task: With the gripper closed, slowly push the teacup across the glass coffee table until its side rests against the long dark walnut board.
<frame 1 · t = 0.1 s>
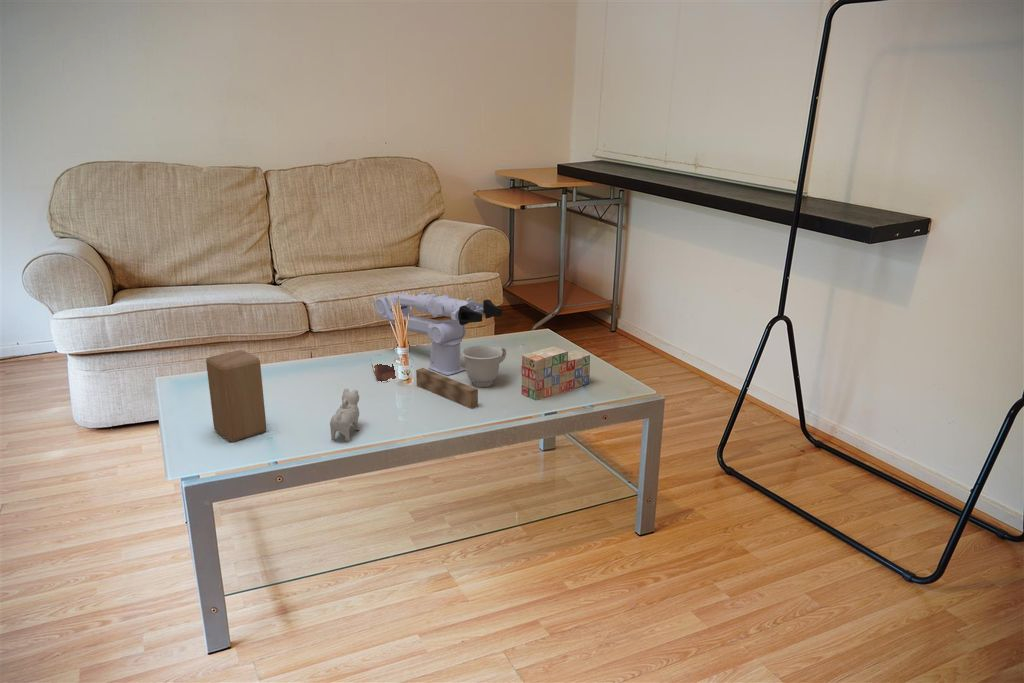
hand: (491, 315, 222), 22 cm above the table, tool horizontal, fingers open, 7 cm apart
stack of blocks: (555, 390, 227), on the table
wooden tablet: (388, 369, 244), on the table
teacup: (486, 383, 232), on the table
walnut board: (446, 395, 221), on the table
grey animal figure: (346, 433, 197), on the table
wooden block: (240, 432, 197), on the table
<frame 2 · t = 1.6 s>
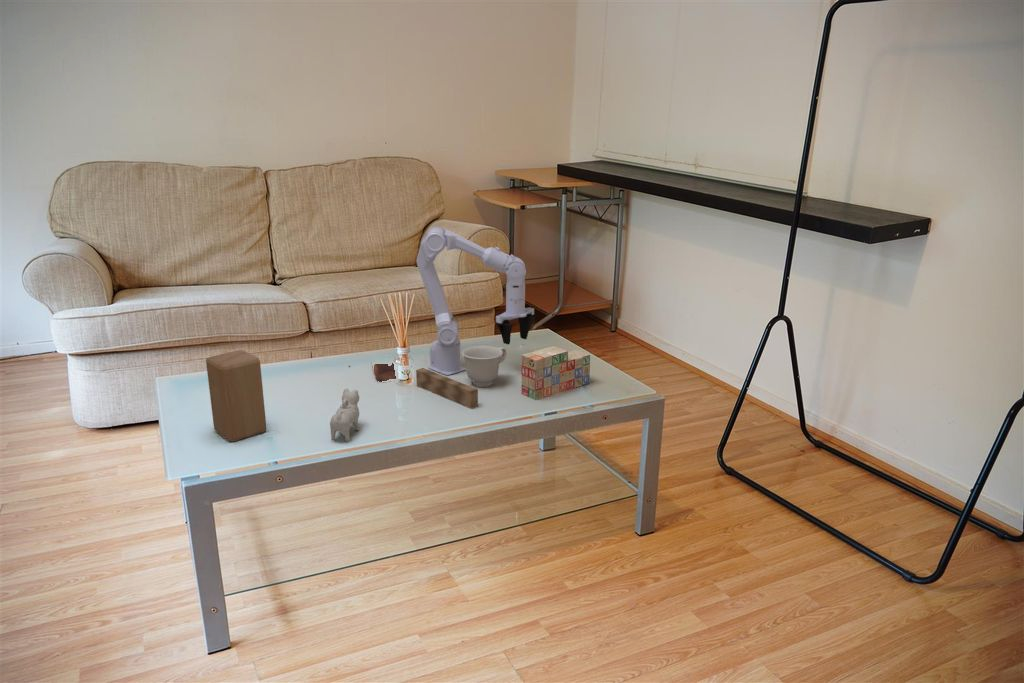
hand: (515, 341, 239), 9 cm above the table, tool pointing down, fingers open, 7 cm apart
nothing on the table moved.
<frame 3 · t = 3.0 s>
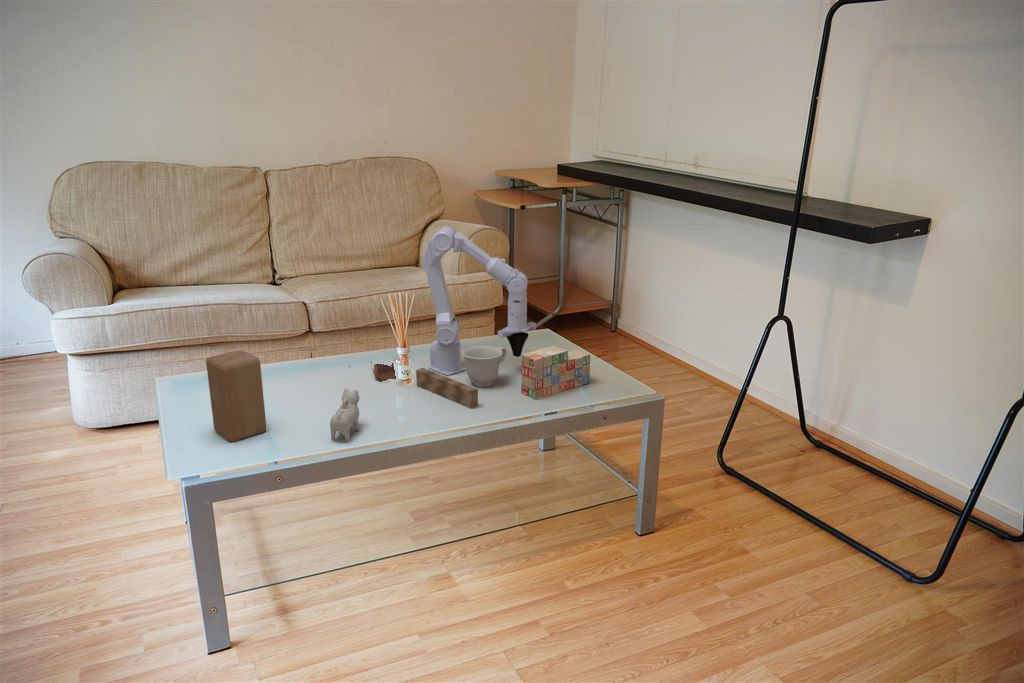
hand: (516, 355, 239), 5 cm above the table, tool pointing down, fingers closed
nothing on the table moved.
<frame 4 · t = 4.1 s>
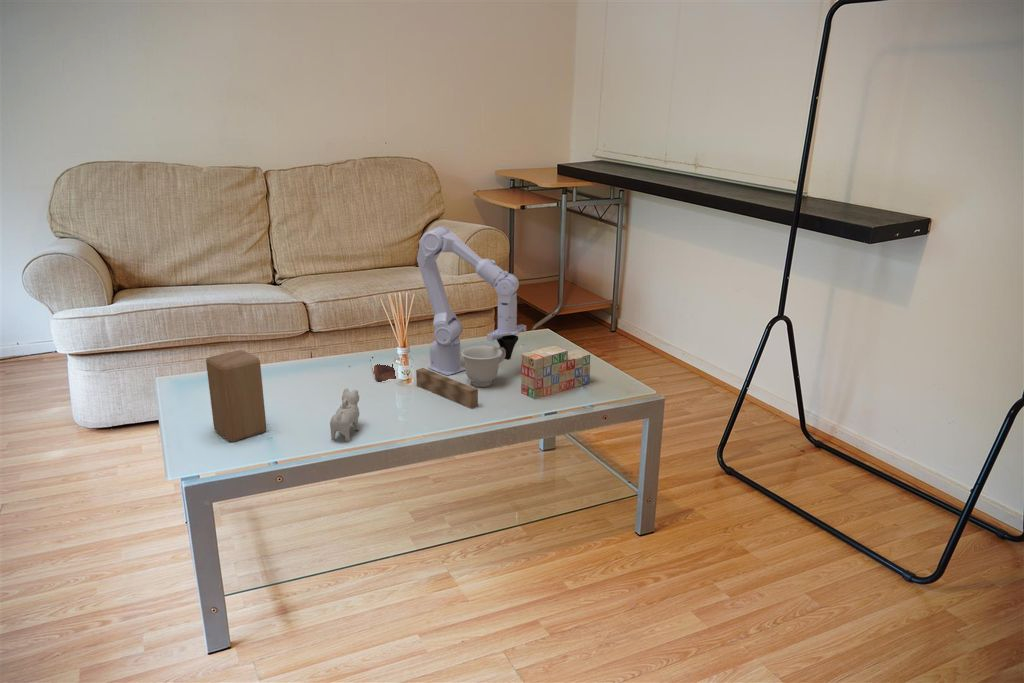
hand: (507, 358, 236), 5 cm above the table, tool pointing down, fingers closed
teacup: (485, 383, 232), on the table, touching gripper
everything else where it was.
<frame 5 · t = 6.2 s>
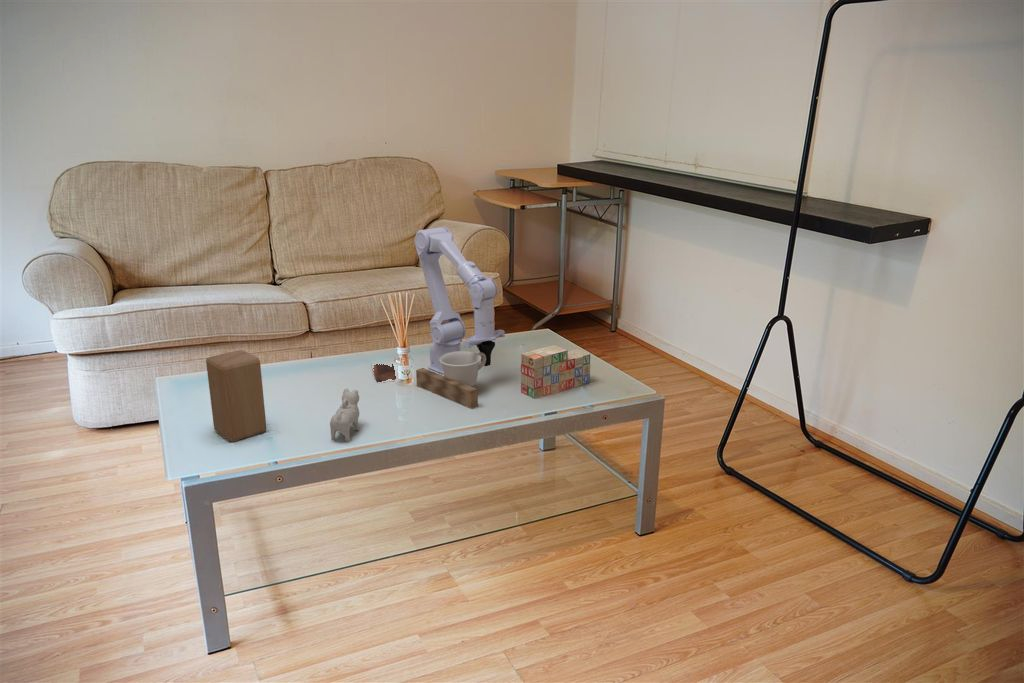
hand: (485, 365, 229), 6 cm above the table, tool pointing down, fingers closed, pressing on teacup
teacup: (465, 389, 226), on the table, touching gripper, walnut board
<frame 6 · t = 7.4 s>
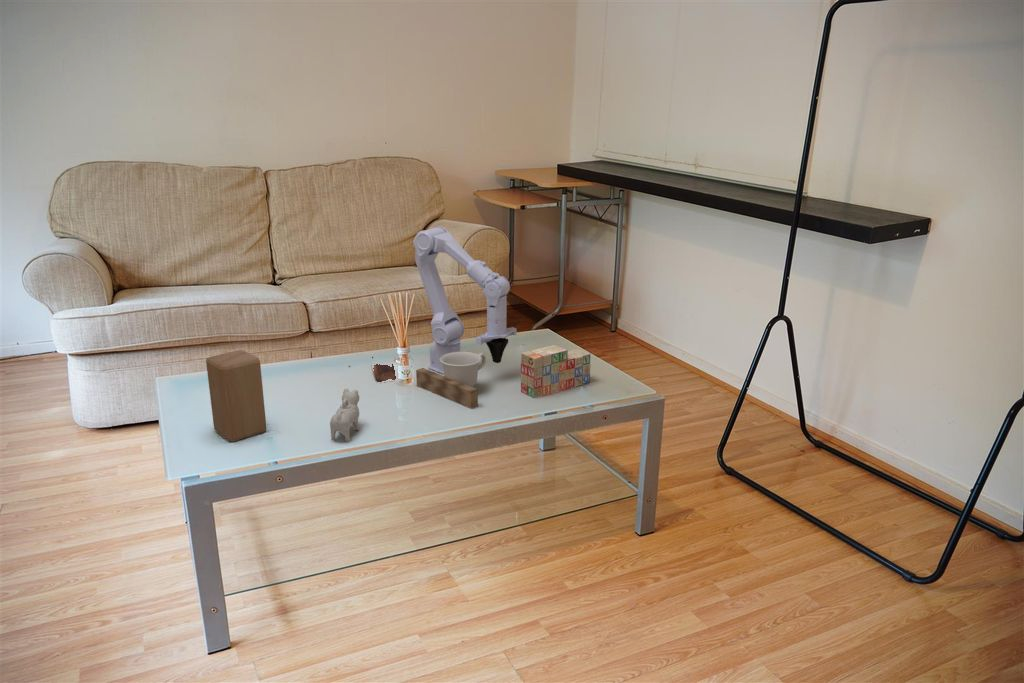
hand: (496, 362, 233), 5 cm above the table, tool pointing down, fingers closed
teacup: (465, 390, 226), on the table
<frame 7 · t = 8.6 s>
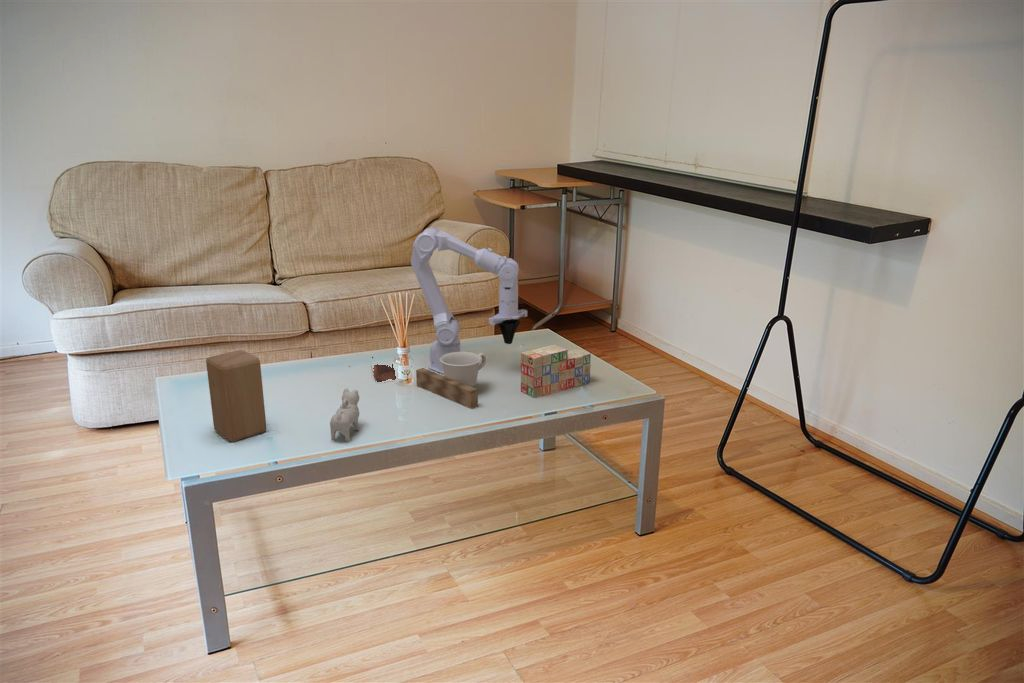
hand: (508, 343, 237), 9 cm above the table, tool pointing down, fingers closed
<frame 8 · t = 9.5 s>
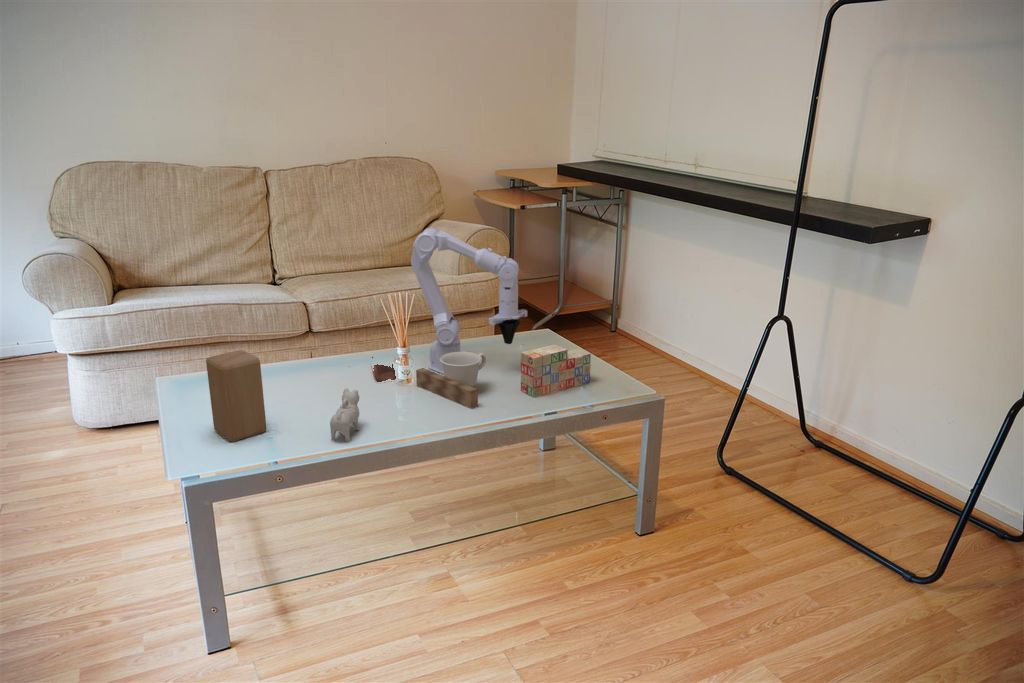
hand: (508, 343, 237), 9 cm above the table, tool pointing down, fingers closed
at the end: teacup inside the target area on the table beside the walnut board (0.2 cm from its centre), on the table; teacup tilted 0° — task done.
